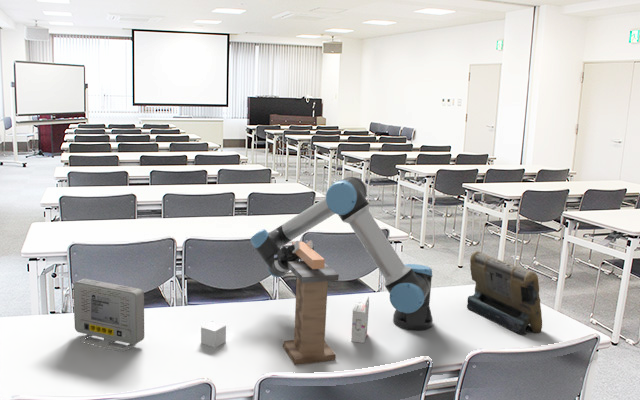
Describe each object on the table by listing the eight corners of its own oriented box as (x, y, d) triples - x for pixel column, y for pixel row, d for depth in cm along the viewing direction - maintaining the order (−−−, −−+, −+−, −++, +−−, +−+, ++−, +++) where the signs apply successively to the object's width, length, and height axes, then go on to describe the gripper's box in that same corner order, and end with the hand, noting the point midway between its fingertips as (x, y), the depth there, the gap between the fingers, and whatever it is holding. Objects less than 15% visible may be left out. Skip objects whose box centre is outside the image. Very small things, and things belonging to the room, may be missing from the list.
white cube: (214, 348, 192) (214, 331, 191) (200, 343, 195) (201, 327, 194) (225, 341, 197) (226, 325, 196) (212, 337, 200) (212, 321, 199)
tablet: (547, 330, 220) (556, 269, 215) (525, 338, 212) (533, 274, 207) (481, 302, 246) (487, 247, 241) (459, 308, 238) (465, 251, 234)
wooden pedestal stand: (282, 345, 196) (285, 262, 191) (319, 340, 201) (324, 259, 196) (295, 366, 182) (299, 277, 176) (336, 361, 187) (341, 274, 181)
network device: (148, 343, 193) (148, 287, 189) (132, 354, 185) (131, 295, 181) (87, 329, 201) (85, 276, 197) (69, 339, 193) (66, 283, 189)
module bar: (291, 250, 200) (292, 242, 199) (302, 249, 201) (303, 241, 201) (312, 269, 180) (312, 260, 179) (324, 268, 181) (324, 259, 180)
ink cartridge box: (353, 332, 210) (356, 294, 207) (367, 333, 209) (369, 295, 206) (350, 341, 202) (352, 302, 199) (364, 343, 201) (366, 304, 198)
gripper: (309, 268, 215) (330, 253, 194) (265, 271, 209) (281, 256, 188) (306, 249, 217) (326, 232, 196) (263, 251, 211) (279, 234, 191)
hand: (304, 244), depth 192 cm, fingers closed on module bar, 4 cm apart
